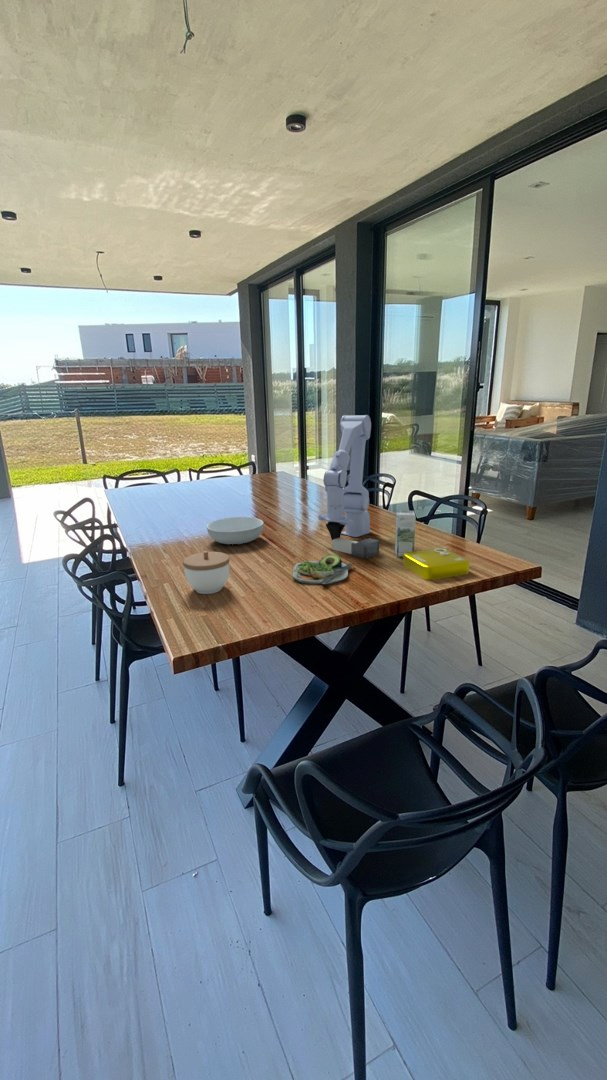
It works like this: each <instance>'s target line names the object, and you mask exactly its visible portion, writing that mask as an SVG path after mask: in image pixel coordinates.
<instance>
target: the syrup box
mask: <svg viewBox="0 0 607 1080" xmlns="http://www.w3.org/2000/svg"><path fill="white" fill-rule="evenodd" d="M416 520H417V518H416V514H415V511H414V510H396V513H395V536H394V537H395V538H394V539H395V542H394V543H395V546H394V552H395V556H396V557H397V558H403V555H404V553H408V552H415V543H416V542H415V540H416V539H415V537H416Z"/></svg>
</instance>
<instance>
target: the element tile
mask: <svg viewBox="0 0 607 1080" xmlns="http://www.w3.org/2000/svg"><path fill="white" fill-rule="evenodd" d="M402 559H403V560H402V561H403V563H402V566H403V567H404V568H405V569H407V570H408V571H410V572H412V573H413V574H415V575H417V576H418V577H420V578H422V579H423V580H426V581H434V580H441V579H442V580H443V579H445V578H446V579H447V577H448V578H453V576H454V577H459V576H458V575H460V576H464V575H463V574H466V575H468V574H469V572H470V560H469V559H468V558H465V557H463V556H461V555H459V554H457V553H455V552H453V551H451V550H449V549H446V548H443V547H438V548H436V547H435V548H430V549H423V550H416V551H415V550H414V552H408V553H404V555H403V557H402ZM467 573H468V574H467Z"/></svg>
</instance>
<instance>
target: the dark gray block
mask: <svg viewBox="0 0 607 1080" xmlns="http://www.w3.org/2000/svg"><path fill="white" fill-rule="evenodd" d="M356 542H357V543H356V544H355V543H351V554H350V555H351V556H354V557H358V558H361V559H366V560H367V559H368V558H372V557H375V556H376V555H379V554H380V540H379V539H374V538H371V537H370V538H364V539H363V540H360V541H356Z"/></svg>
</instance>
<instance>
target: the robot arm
mask: <svg viewBox="0 0 607 1080" xmlns="http://www.w3.org/2000/svg"><path fill="white" fill-rule="evenodd" d="M339 423H340V431H341V439H340V443H339V448H338V450H336V451H335V452H334V454H333V457H332V460H331V463H330V465H329V469H328V470H327V471H325V473H324V474H323V480H322V481H323V485H324V490H325V492H326V513H320V514H318V520H319V521H325V522H327V523H325V527H326V529H327V530H328V532H329V535H330V539H331V541H332V540H334V539H336V538H341V536H342V535H345V536H349V537H353V538H358V537H361V536H364V535H367V534H371V533H372V530H370V529H371V526H370V521H371V515H370V513H369V511H368V509H369V507H370V506H369V505H370V497H369V496H370V494H369V493H370V492H369V490H368V489H367V488H366V487H365V486H364V485H363V478H364V477H363V476H364V468H365V467H364V465H365V464H364V463H365V453H366V451H365V450H366V442H367V440H369V439H370V437H371V431H372V421H371V417H370V416H369V415H368V414H365V415H363V414H362V415H360V414H359V415H357V414H356V415H355V414H354V415H353V414H351V415H350V414H349V415H347V414H343V415H342V417H341V418H340V422H339ZM350 451H351V455H350V454H349V453H350ZM349 464H350V467H349V466H348V465H349ZM348 467H349V478H348V479H349V481H348V484H347V486H346V483H347V476H348V472H347V469H348ZM344 529H345V530H344ZM343 530H344V531H343Z"/></svg>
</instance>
